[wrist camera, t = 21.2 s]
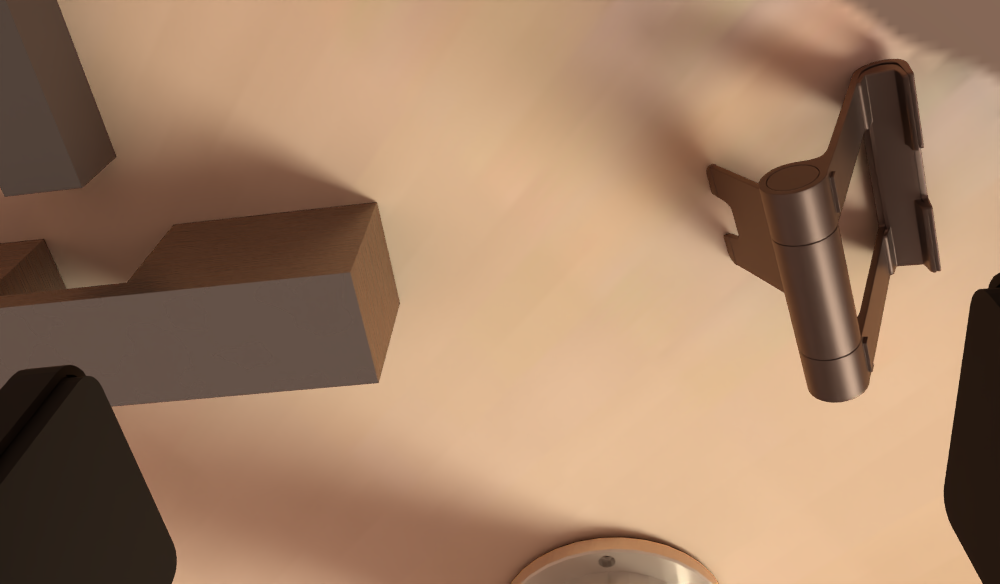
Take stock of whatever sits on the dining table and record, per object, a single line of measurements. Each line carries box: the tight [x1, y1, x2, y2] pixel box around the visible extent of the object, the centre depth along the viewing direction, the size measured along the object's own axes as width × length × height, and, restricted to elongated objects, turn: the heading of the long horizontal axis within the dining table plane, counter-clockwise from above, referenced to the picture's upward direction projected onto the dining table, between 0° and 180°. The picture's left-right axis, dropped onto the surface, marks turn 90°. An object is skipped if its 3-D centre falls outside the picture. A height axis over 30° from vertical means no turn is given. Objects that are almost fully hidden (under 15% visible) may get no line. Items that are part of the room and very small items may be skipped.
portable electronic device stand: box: [707, 59, 941, 402], centre depth 33 cm, size 9×8×8 cm
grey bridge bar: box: [0, 202, 400, 406], centre depth 37 cm, size 5×24×6 cm, turn 98°
